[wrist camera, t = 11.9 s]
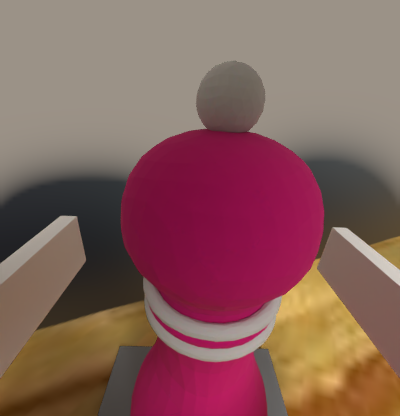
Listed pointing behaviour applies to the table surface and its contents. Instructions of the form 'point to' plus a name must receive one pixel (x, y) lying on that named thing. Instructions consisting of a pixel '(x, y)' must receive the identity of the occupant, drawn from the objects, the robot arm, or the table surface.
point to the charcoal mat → (130, 365)
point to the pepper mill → (217, 250)
